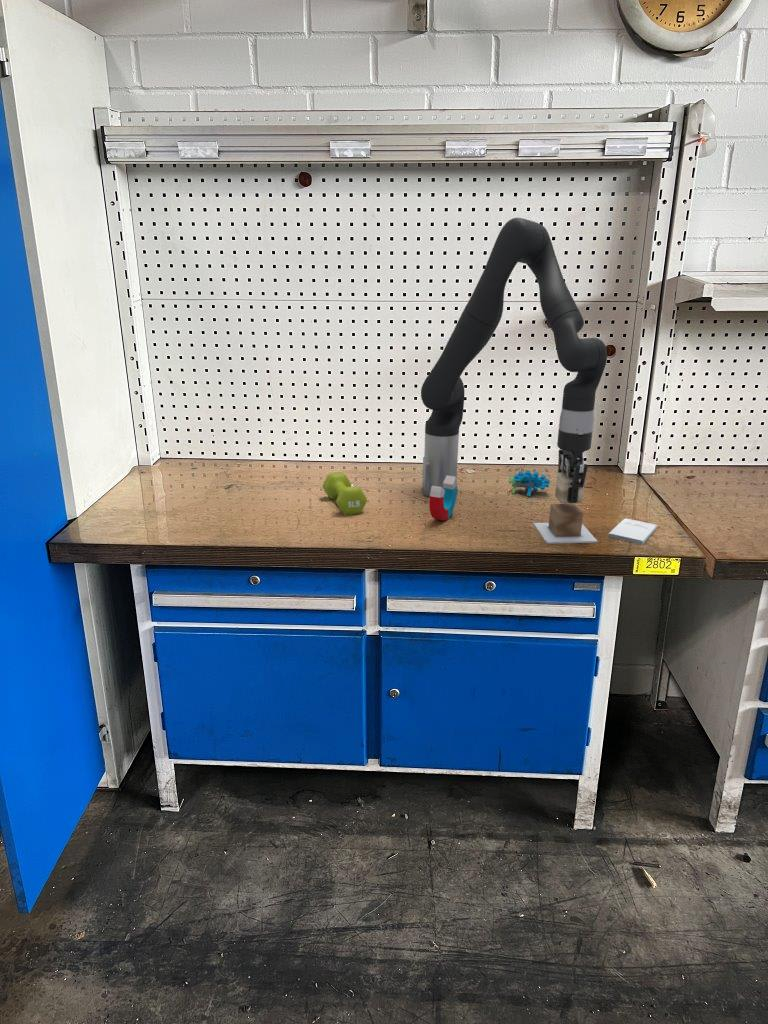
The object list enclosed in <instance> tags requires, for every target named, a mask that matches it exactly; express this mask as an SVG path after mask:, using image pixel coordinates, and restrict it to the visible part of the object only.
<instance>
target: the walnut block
mask: <svg viewBox="0 0 768 1024" xmlns="http://www.w3.org/2000/svg"><path fill="white" fill-rule="evenodd" d="M583 517H584V511H583V510H582V509H581V508H580V507H579V506H578V504H577V503H573V504H561V503H551V504H550V508H549V520H548V523H549V528H550V530H551V531H552V532H553V534H554V535H555V536H556V537H557V536H581V528H582V524H583Z"/></svg>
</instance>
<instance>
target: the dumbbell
mask: <svg viewBox="0 0 768 1024" xmlns="http://www.w3.org/2000/svg"><path fill="white" fill-rule="evenodd" d="M322 489H323V491H324V493H325V494H326V495H327V497H328V498H329V499H330V500H335V501H336V504H337V506H338V508H339V509H340V511H341V512H342V513H343V515H345V516H352V515H353V516H354V515H359V514H360V513H362V512H363V510H364V508H365V506H366V504H367V502H368V499H367V496H366V495H365V493H364V491H363V490H362V489H361V488H360V486H357V485H353V486H352V483H351V481H350V479H349V478H348V476H347V475H346V474H345V473H344V472H343V471H340V472H331V473H328V475H327V476H326V477H325V479H324V481H323V483H322Z"/></svg>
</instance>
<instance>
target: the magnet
mask: <svg viewBox="0 0 768 1024" xmlns="http://www.w3.org/2000/svg"><path fill="white" fill-rule="evenodd" d="M443 485H444V489H443V488H442V487H437V486H432V487H431V491H430V496H429V500H428V501H429V503H428V504H429V505H428V506H429V507H428V508H429V512H430V517H432V518H433V520H439V521H443V522H444V521H447V520H448V519H449V518H450V517H451V516H452V513H453V511H454V508H455V506H456V502H457V496H458V495H457V494H458V477H457V478H456V477H454V476H448V475H447V476H446V478H445V480H444V482H443Z"/></svg>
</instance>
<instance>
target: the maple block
mask: <svg viewBox="0 0 768 1024" xmlns="http://www.w3.org/2000/svg"><path fill="white" fill-rule="evenodd" d="M556 474H557V475H556V484H555V491H554V492H555V494H554V497H555V498H556V499H557V501H558V502H559V504H574V503H569V502H568V501H567V498H568V489H569V478H568V477H567V476H566V473H558V472H557V473H556ZM571 474H574V472H573V473H571ZM572 479H573V478H572ZM576 482H577V480H576ZM585 482H586V480H585V481H584V486H583V487H580V488H579V491H578V500H577V502H576V503H575V504H583V501H584V492H585V491H584V490H585Z"/></svg>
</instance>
